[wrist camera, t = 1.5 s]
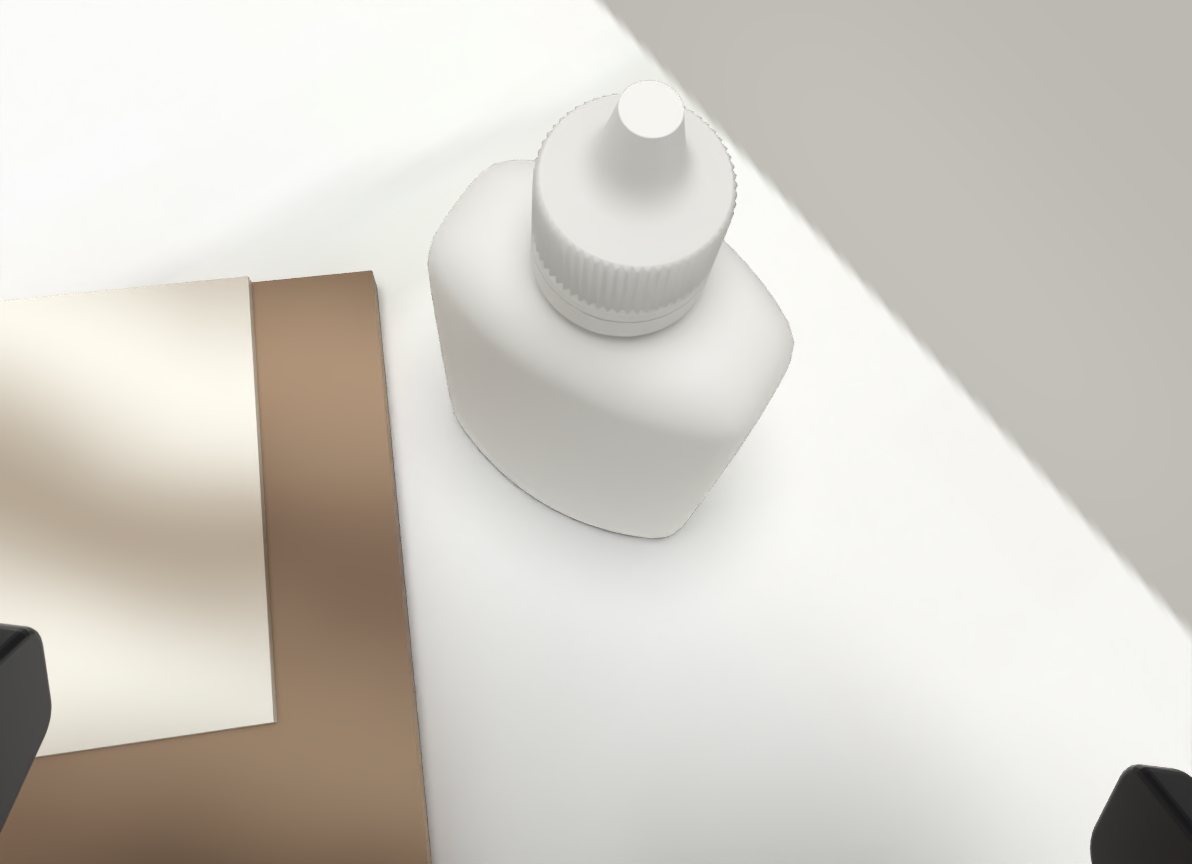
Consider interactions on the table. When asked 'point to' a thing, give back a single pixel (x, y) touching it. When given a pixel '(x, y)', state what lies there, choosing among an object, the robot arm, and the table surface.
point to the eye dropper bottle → (608, 315)
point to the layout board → (209, 576)
